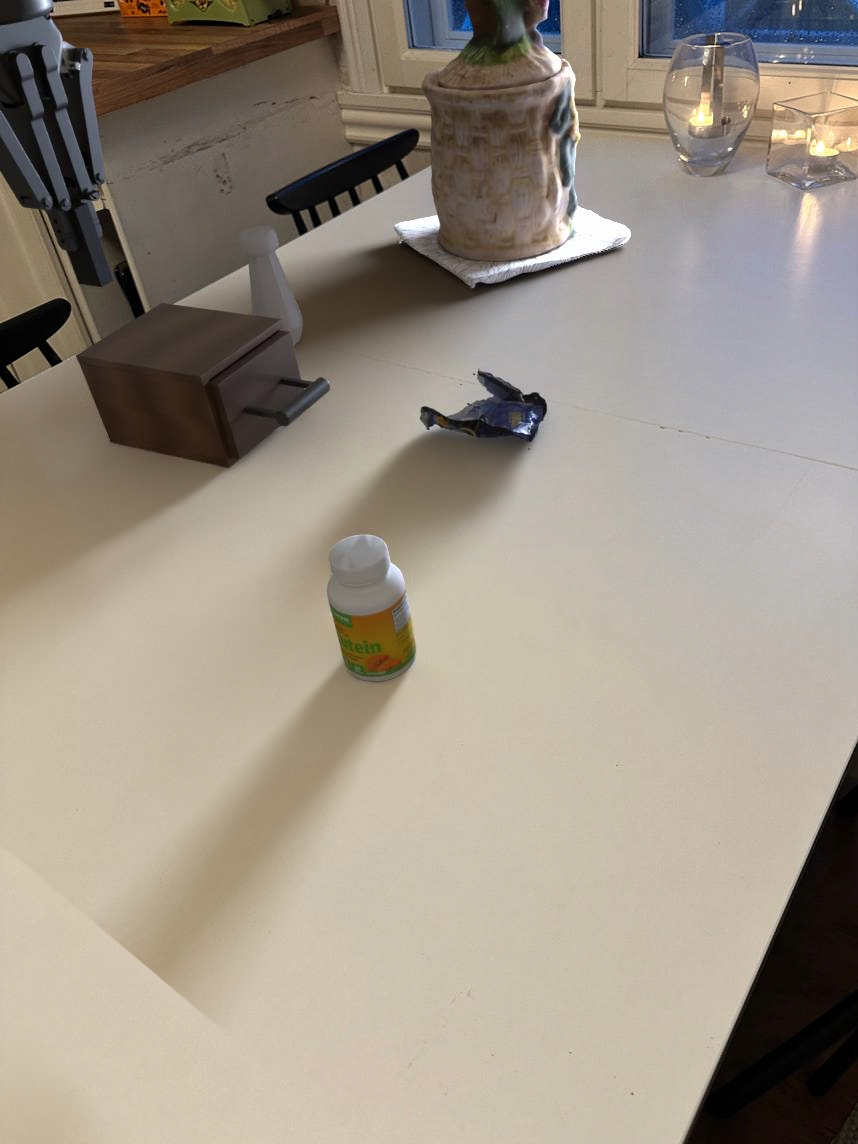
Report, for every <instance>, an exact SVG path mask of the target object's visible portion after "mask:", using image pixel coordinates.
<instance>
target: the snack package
mask: <svg viewBox="0 0 858 1144" xmlns="http://www.w3.org/2000/svg"><path fill="white" fill-rule="evenodd" d="M472 375H473V376H476V380H478V382H479V384H480V385H481V386H483V388H485V390H486V392H488V393H489V394H491V395H493V396H489V397H487V398H485V399H480V400H475V401H473V402H472V403H470V402H466V406H464V407H463V408H462V409H461V410H459V411H458V412H456V413H453V414H449V415H444V414H443V413H441V412H440V411H437V410H436V409H435V408H432V407H429V406H425V405H423V406H420V409H419V410H420V411H419V413H420V416H419V421H420V422H421V423H422V424H423V426H424V427H425V428H426V430H427V431H429V430H431V427H434V425H437V426H438V427H440V429H446V430H449V431H450V432H453V431H454V432H457V433H461V434H464V435H468V436H471V437H473V438H478V439H491V438H492V439H494V438H495V439H496V438H501V437H502V438H504V437H510V436H511V437H514V438H517V439H519V440H523V441H526V442H527V443H531V444H532V442H533V441H534V439H535V437H536V435H537V432H538V430H539V425H540V424H541V422H544V419H545V417H546V415H547V412H548V403H547V401H546V399H545V398H544V397H542V396H541V395H540V393H539V392H537V391H534V392H531V393H528V394H527V393H526V394H524V393H523V391H522V390H521V389H520V388H518V387H516V386H514V385H512V384H511V383H510V382H509V381H506V380H504V379H503V378H501V377H500V376H499V377H498V376H495V375H493V373H491V372H489V371H483V370H480V369H478V370H477V373H474V372H473V373H472ZM462 385H463V384H462V383H460V384H459V386H462ZM529 450H531V447H528V451H529Z"/></svg>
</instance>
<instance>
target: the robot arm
mask: <svg viewBox="0 0 858 1144" xmlns="http://www.w3.org/2000/svg"><path fill="white" fill-rule="evenodd" d="M53 9H54V0H0V173H1V175H2V177H3V179H4V180H5V182H6V183H7V185H8V187H9V189H10V190H11V191H12V193H13V195H14V196H15V198H16V200H17V202H18V203H19V205H20V206H21V207H22V208H24V209H33V210H41V211H44V212H45V214H46V215H47V218H48V221H49V223H50V226H51V229H52V231H53V234H54V237H55V240H56V242H57V245H58V246H59V248H60V249H61V250H62V251H66V252H67V256H68V258H69V261H70V264H71V266H72V269H73V271H74V274H75V277H76V280H77V283H78V284H79V285H82V286H83V285H84V286H89V287H97V288H104V287H105V286H107V285H109V284H110V283H112V282H114V278H113V274H112V272H111V269H110V266H109V263H108V260H107V257H106V253H105V251H104V249H103V245H102V242H101V238H102V237H103V229H102V226H101V224H100V220H99V218H98V214H97V211H96V208H95V205H94V202H97V201H99V199H100V197H101V190H98V189H97V187H98V185H99V186H103V185H104V184H105V182H106V171H105V165H104V158H103V151H102V145H101V137H100V133H99V131H100V130H99V125H98V117H97V112H96V106H95V99H94V92H93V86H92V76H93V66H94V65H93V64H94V56H93V53H92V51H91V50H90V49H89V47H77V46H74V45H73V44H71V43H69V42H67V41H65V40H63V36H62V33H61V31H60V29H59V27H58V26H57V25H56V23H55V22H54V20H53V18H52V17H51V14H50V13H51V12H52V10H53Z"/></svg>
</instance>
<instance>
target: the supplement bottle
mask: <svg viewBox="0 0 858 1144" xmlns="http://www.w3.org/2000/svg"><path fill="white" fill-rule="evenodd" d="M388 548H389V547H388V545H387V543H386V542H385V540H383V539H382V538H380V537H378V536H377V535H372V534H356V535H351V536H348V537H346V538H343V539H341V540H339V541H337V542H336V543H335V544H334V545H333V546H332V547H331V549H330V551H329V552H328V562H329V567H330V571H331V574H332V575H331V576H330V577H329V579H328V583H327V586H326V597H327V601H328V605H329V608H330V612H331V615H332V621H333V623H334V628H335V631H336V636H337V639H338V644H339V647H340V651H341V656H342V659H343V663H344V665H345V668H346V670H347V671H348V672H349V673H350V674H351V675H352V676H354V677H356V678H358V679H359V680H361V681H366V682H383V681H388V680H391V679H395V678H397V677H399V676H401V675H403V674H404V673H405V672H406V671H408V670H409V669H410V667H411V666H412V665H413V664H414V662H415V660H416V657H417V651H418V650H417V642H416V637H415V636H416V635H415V631H414V625H413V619H412V615H411V610H410V604H409V599H408V593H407V587H406V581H405V579H404V578H405V577H404V575H403V573H402V572H401V570H400V568H398V566H397V565H395V564H394V563H392V562H391V556H390V553H389V549H388Z"/></svg>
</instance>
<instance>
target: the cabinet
mask: <svg viewBox="0 0 858 1144" xmlns="http://www.w3.org/2000/svg"><path fill="white" fill-rule="evenodd" d="M279 331H284V327H283V322H282V319H277V318H270V317H263V316H255V315H252V314H247V313H246V314H245V313H239V312H233V311H224V310H217V309H210V308H203V307H196V306H190V305H189V306H187V305H180V304H174V303H173V304H172V303H165V302H161V303H159V304H157V305H156V306H155V307H153V308H151V309H150V310H147V311H146V312H145V313H143V314H141V315H139V316H138V317H136V318H135V319H133V320H131V321H130V322H128V323H126V324H125V325H123V326H122V327H121V326H120V328H118V329H116V330H115V331H113V332H111V333H110V334H108V335H107V336H105V337H104V338H101V339H100V340H98V341H97V342H95V343H94V344H92V345H90V346H88V347H87V348H85V349H84V350H82V351H81V352H79V353H77V354H76V355H75V357H76V358H75V359H76V361H77V362H78V364H79V367H80V369H81V370H80V371H81V372H82V375H83V378H84V379H85V382H86V384H87V387H88V390H89V392H90V395H91V398H92V401H93V402H94V404H95V407H96V410H97V413H98V415H99V417H100V421H101V423H102V425H103V428H104V431H105V433H106V435H107V438H108V439H109V440H108V441H109V442H110V443H111V444H114V445H120V446H125V447H129V448H133V449H138V450H142V451H143V450H144V451H147V452H152V453H156V454H161V455H165V456H166V455H167V456H171V457H175V458H181V459H185V460H189V461H193V462H199V463H204V464H207V465H211V466H212V465H213V466H218V467H222V468H226V469H230V468H231V467H232V466H233V465H235V464H236V463H237V462H238V461H239V460H240V459H237V458H232V457H230V454H229V451H228V448H227V444H226V441H225V438H224V435H223V431H222V428H221V425H220V422H219V418H218V415H217V412H216V409H215V405H214V402H213V399H212V396H211V392H210V389H209V386H208V381H209V380H210V379H211V378H213V377H214V376H215V375H217V374H218V373H220V372H221V371H222V370H224V369H225V368H227V367H228V366H229V365H231V364H232V363H234V362H235V361H236V360H238V359H239V358H240V357H242V356H243V355H245V354H246V353H247V352H249V351H250V350H252V349H253V348H254V347H256V346H257V345H259V344H260V343H261V342H263V341H264V340H265V339H267V340H268V339H269V338H271V337H272V336H274V335H275V334H276V333H278V332H279Z"/></svg>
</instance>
